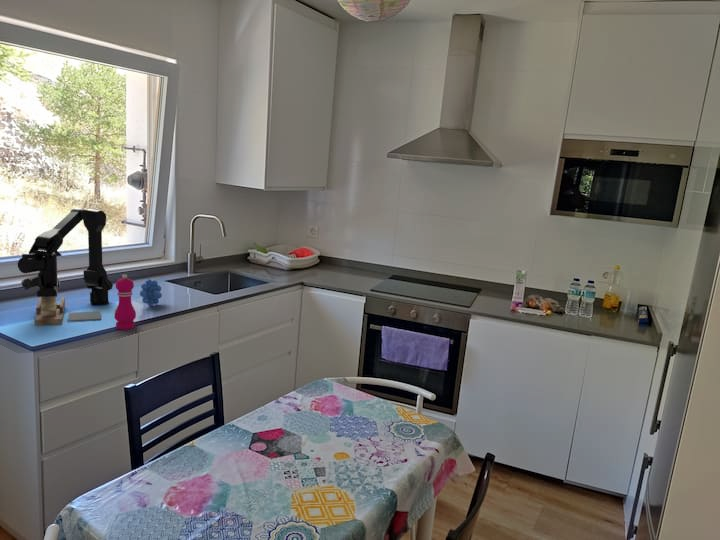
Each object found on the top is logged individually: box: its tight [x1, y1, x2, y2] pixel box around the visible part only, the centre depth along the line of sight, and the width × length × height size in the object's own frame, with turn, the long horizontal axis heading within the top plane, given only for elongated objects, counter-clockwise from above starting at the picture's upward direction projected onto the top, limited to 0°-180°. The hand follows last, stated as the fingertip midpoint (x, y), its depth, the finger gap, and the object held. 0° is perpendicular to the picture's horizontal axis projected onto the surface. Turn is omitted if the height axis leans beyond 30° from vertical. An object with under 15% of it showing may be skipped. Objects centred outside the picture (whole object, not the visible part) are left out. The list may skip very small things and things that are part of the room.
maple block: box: [40, 296, 57, 316], centre depth 190 cm, size 4×4×6 cm
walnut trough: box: [33, 296, 66, 326], centre depth 197 cm, size 8×24×4 cm, turn 27°
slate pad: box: [67, 310, 102, 323], centre depth 199 cm, size 11×11×1 cm
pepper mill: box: [113, 273, 137, 330], centre depth 188 cm, size 7×7×20 cm
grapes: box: [139, 279, 163, 307], centre depth 219 cm, size 12×7×12 cm, turn 158°
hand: (49, 309), depth 194 cm, fingers closed
